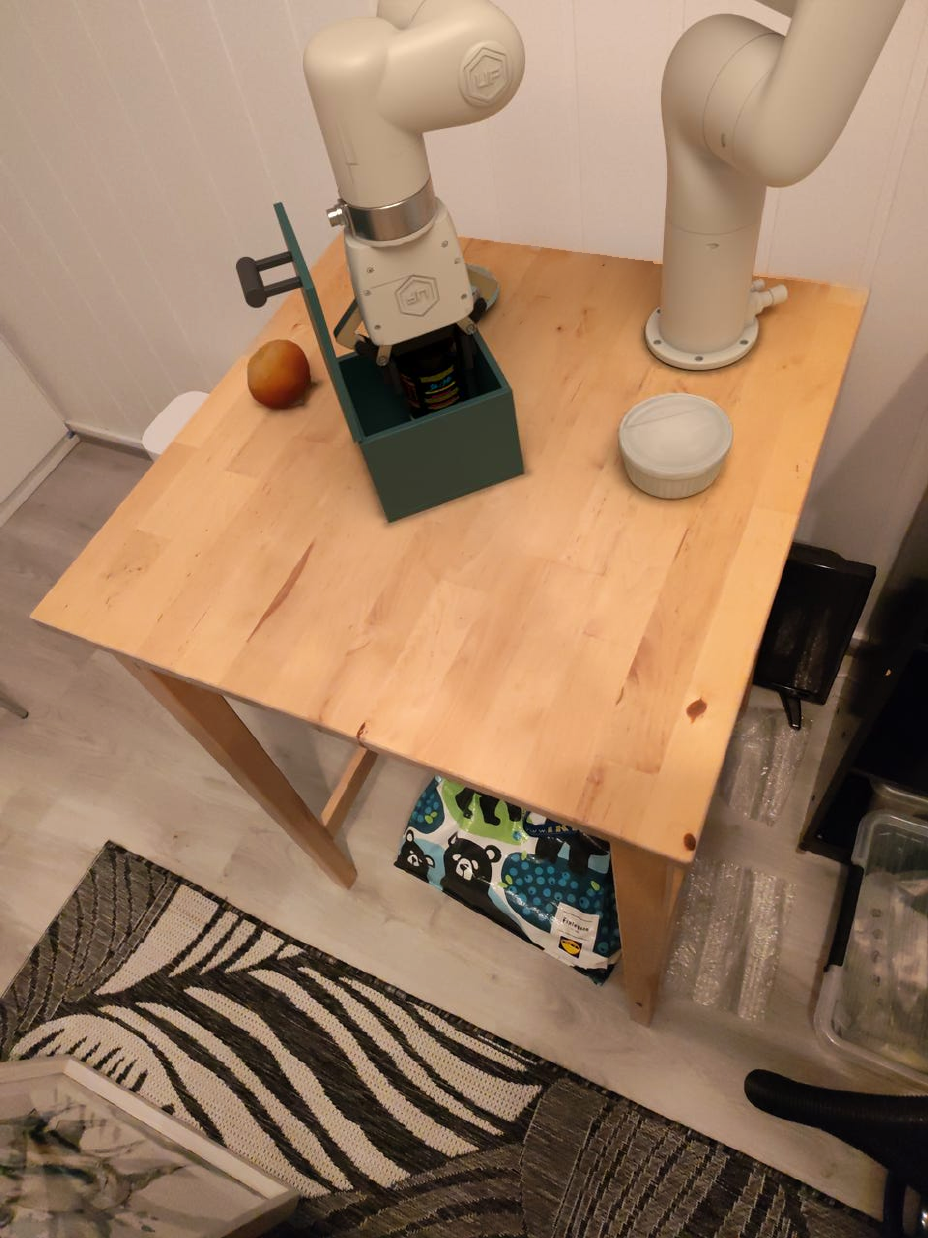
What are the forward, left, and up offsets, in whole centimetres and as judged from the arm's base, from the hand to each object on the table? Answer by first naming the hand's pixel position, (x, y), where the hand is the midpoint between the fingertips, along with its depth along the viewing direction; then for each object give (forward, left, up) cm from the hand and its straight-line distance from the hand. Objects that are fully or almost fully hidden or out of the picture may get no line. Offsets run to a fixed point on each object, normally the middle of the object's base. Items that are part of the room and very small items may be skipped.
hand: (431, 372), depth 80 cm
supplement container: (0, 0, -6) cm, 6 cm away
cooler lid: (+9, 0, +9) cm, 13 cm away
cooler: (+1, 0, -11) cm, 11 cm away
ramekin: (-21, +13, -12) cm, 27 cm away
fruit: (+15, -19, -12) cm, 27 cm away
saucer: (-9, -24, -12) cm, 28 cm away
